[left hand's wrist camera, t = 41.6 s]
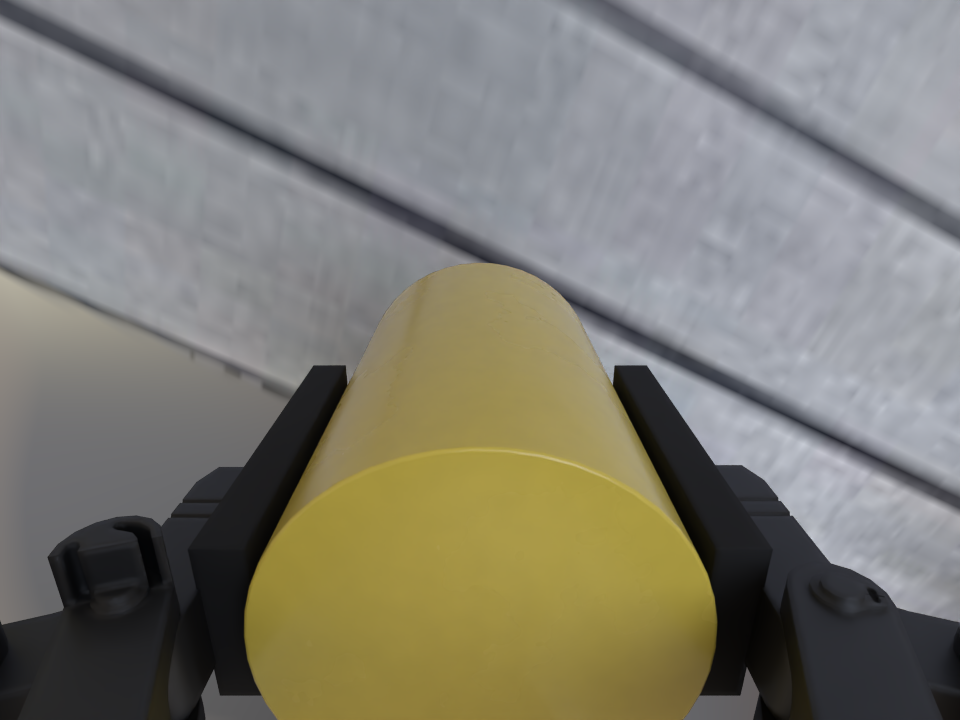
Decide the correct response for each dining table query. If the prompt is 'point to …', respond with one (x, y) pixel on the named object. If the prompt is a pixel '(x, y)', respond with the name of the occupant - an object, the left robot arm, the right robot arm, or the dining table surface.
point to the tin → (480, 531)
